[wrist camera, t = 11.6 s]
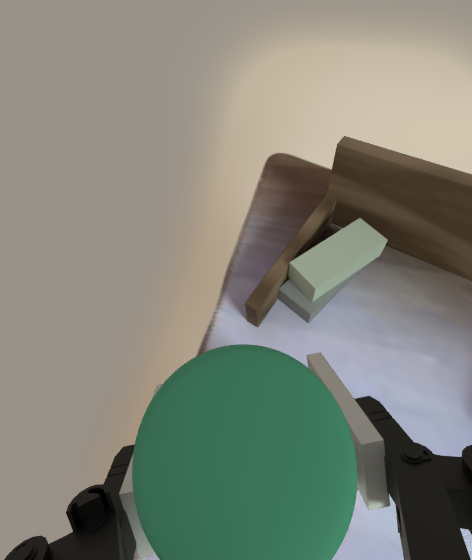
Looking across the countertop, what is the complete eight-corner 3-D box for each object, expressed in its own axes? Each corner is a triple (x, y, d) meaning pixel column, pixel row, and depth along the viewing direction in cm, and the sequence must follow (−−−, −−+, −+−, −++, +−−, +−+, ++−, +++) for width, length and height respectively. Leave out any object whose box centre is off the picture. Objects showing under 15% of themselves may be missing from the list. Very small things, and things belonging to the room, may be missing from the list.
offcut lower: (342, 240, 37) (346, 225, 35) (372, 259, 35) (378, 245, 33) (277, 300, 33) (278, 288, 31) (307, 325, 31) (310, 314, 29)
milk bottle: (311, 550, 20) (516, 905, 4) (197, 521, 22) (-50, 676, 5) (318, 422, 24) (430, 300, 7) (221, 404, 26) (129, 266, 9)
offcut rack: (327, 210, 39) (344, 135, 30) (561, 304, 30) (677, 236, 21) (247, 321, 32) (239, 265, 23) (520, 485, 23) (667, 491, 15)
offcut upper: (354, 233, 34) (359, 217, 32) (380, 255, 32) (387, 239, 30) (288, 276, 32) (289, 262, 30) (312, 302, 30) (315, 289, 28)
